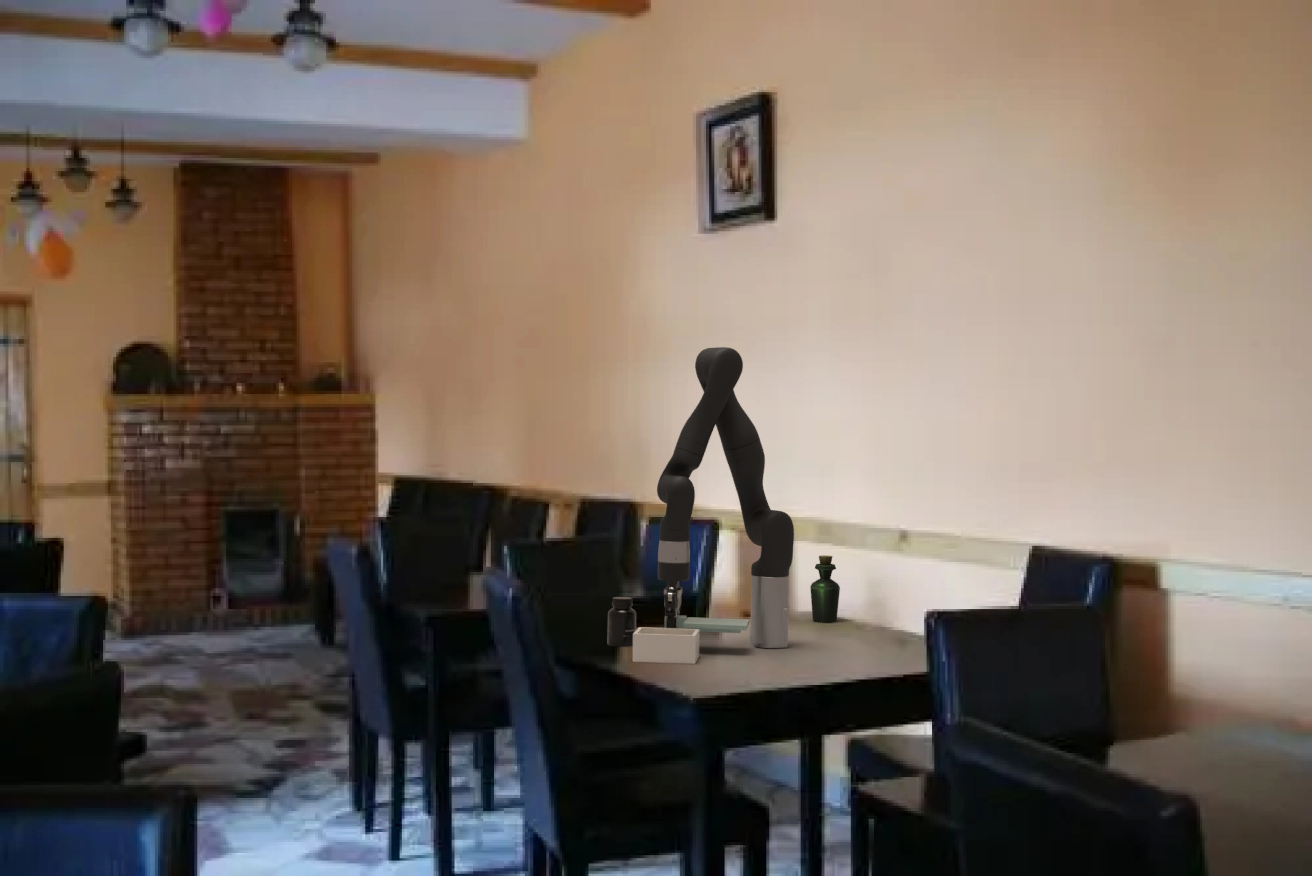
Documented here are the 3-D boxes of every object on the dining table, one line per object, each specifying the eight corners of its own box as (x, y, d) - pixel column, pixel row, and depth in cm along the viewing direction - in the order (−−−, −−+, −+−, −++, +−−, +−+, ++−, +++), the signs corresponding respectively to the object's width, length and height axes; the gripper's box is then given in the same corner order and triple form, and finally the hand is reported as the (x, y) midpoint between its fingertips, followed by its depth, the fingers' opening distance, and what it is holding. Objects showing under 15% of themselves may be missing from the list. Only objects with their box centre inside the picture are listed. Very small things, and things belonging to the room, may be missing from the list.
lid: (748, 628, 329) (749, 616, 329) (746, 634, 319) (746, 622, 319) (667, 624, 332) (668, 613, 332) (662, 630, 321) (662, 618, 321)
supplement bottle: (632, 650, 329) (632, 600, 329) (604, 649, 331) (605, 599, 330) (638, 645, 336) (639, 596, 336) (611, 644, 337) (611, 595, 337)
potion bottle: (826, 618, 387) (827, 554, 387) (845, 622, 380) (846, 556, 380) (803, 620, 382) (804, 555, 382) (822, 624, 376) (823, 558, 375)
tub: (699, 659, 318) (699, 629, 318) (694, 667, 308) (695, 635, 308) (638, 657, 320) (639, 627, 320) (632, 664, 310) (632, 633, 310)
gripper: (686, 563, 319) (684, 637, 319) (692, 557, 333) (690, 629, 333) (654, 562, 320) (652, 636, 320) (661, 556, 334) (659, 627, 334)
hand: (672, 632), depth 326 cm, fingers closed on lid, 4 cm apart
